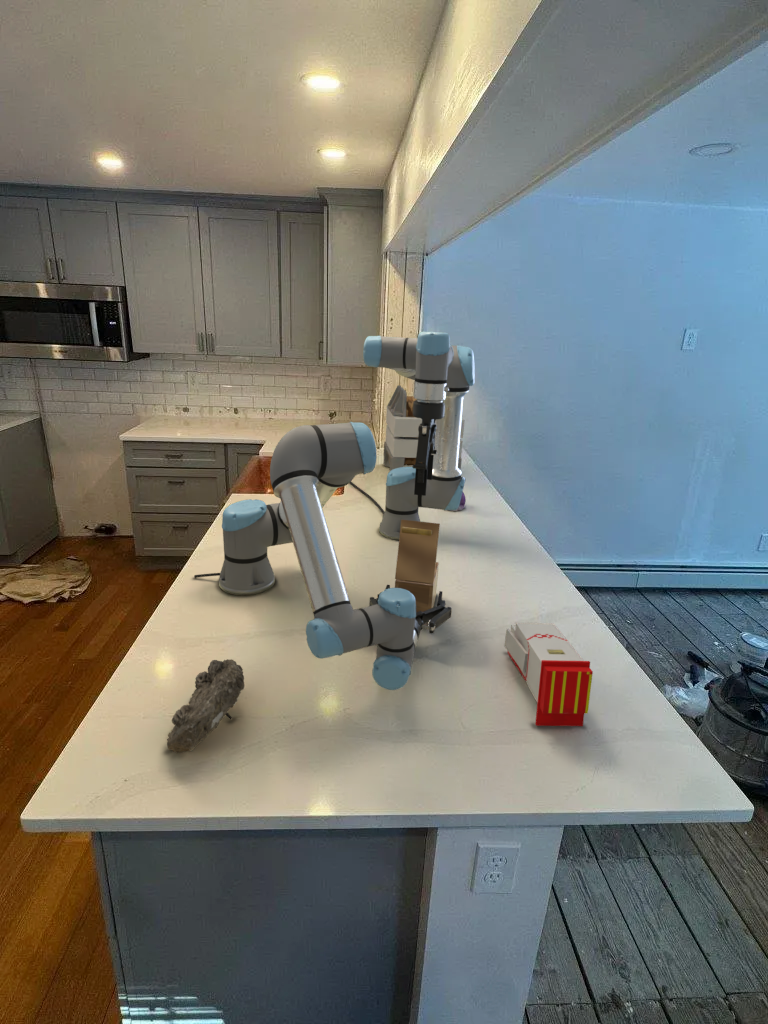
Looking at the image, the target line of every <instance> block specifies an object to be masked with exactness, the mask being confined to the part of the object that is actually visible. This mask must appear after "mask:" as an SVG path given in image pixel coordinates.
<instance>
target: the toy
mask: <svg viewBox="0 0 768 1024" xmlns="http://www.w3.org/2000/svg"><path fill="white" fill-rule="evenodd" d="M503 645H504V647H505V649H506V650H507V655H508V656H509V658H510V659H511V662H513V664H514V666H515V667H516V669H517V670H518V672H519V673H520V675H521V676H522V679H523V680H524V681H525V683H526V686H527V687H528V689H529V690H530V693H531V694H532V696H533V698H534V700H535V701H536V703H537V704H536V714H535V722H534V723H535V726H537V727H541V726H542V727H583V726H584V719H585V715H586V714H587V715H588V714H589V706H590V705H589V704H590V699H591V691H592V683H593V682H592V681H593V674H594V673H593V672H594V671H593V670H592V669H591V668H590V667H591V661H590V660H584V659H583V658H582V657H581V655H580V654H579V653H578V651H577V650H576V649H575V648H574V647H573V645H572V644H571V643H570V642H569V640H568V639H567V638H566V636H564V633H562V632H561V630H560V629H559V628H558V627H557V625H556V624H555V623H553V622H515V624H511V625H510V628H506V630H505V638H504V644H503Z"/></svg>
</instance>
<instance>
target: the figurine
mask: <svg viewBox="0 0 768 1024" xmlns="http://www.w3.org/2000/svg"><path fill="white" fill-rule="evenodd" d="M466 503H467V502H466V496H465V492H464V491H463V492H462V496H461V500H460V504H459V507H458V509H457V510H450V511H451V512H452V511H453V512H457V511H462V510H463V509H465V505H466Z"/></svg>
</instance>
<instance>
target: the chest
mask: <svg viewBox="0 0 768 1024" xmlns="http://www.w3.org/2000/svg"><path fill="white" fill-rule="evenodd" d="M439 565H440V562H439V561H436V566H435V575H434V583H433V584H431V583H423V582H415V581H406V580H398V579H395V581H394V588H402V589H405V590H408V591H409V592H410V593H412V594H413V595H414V597H415V600H416V612H419V611H422V612H424V611H426V610H429V609H431V608H434V607H435V602H436V598H437V597H436V596H437V591H438V590H437V588H438V578H439V577H438V576H439Z"/></svg>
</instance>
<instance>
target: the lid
mask: <svg viewBox="0 0 768 1024" xmlns="http://www.w3.org/2000/svg"><path fill="white" fill-rule="evenodd" d="M440 527H441V525H440V523H438V522H437V523H436V522H429V521H421V520H420V521H410V520H401V527H400V537H399V540H398V547H397V548H398V549H397V557H396V565H395V566H396V567H395V577H394V579H395V580H396V579H398V580H406V581H415V582H423V583H431V584H433V583H434V575H435V566H436V562H437V555H438V554H437V553H438V546H439V545H438V544H439V535H440Z"/></svg>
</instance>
